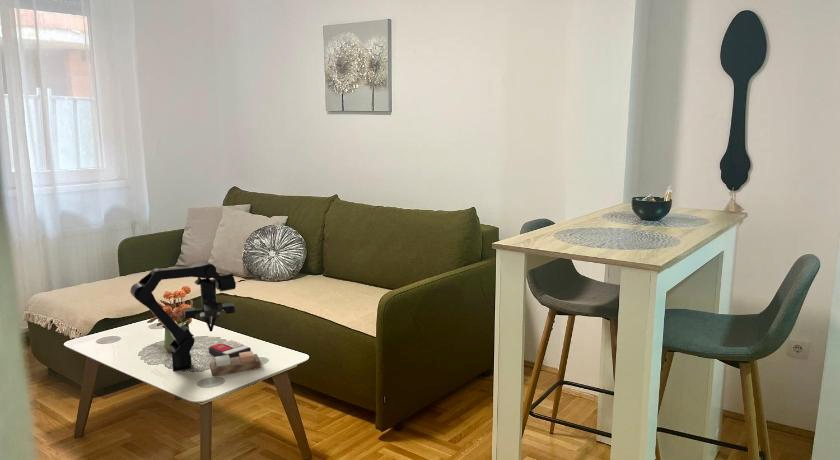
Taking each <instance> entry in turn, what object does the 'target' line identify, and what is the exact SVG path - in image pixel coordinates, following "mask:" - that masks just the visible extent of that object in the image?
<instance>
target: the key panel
mask: <svg viewBox="0 0 840 460" xmlns="http://www.w3.org/2000/svg"><path fill="white" fill-rule="evenodd" d="M253 354H254V361H250V362H244V363H240V360H239V357H234V358H230V364H231V365H225V366H219V367H216V364H215V360H209V369H210V373H211V377H217V376H218V377H219V376H222V375H228V374H235V373H240V372H246V371H251V370H252V371H253V370H258V369H259V370H260V369H261V368H262V367H261V366H262V365H261V359H260V357H259V355H258V354H257V353H253Z"/></svg>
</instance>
